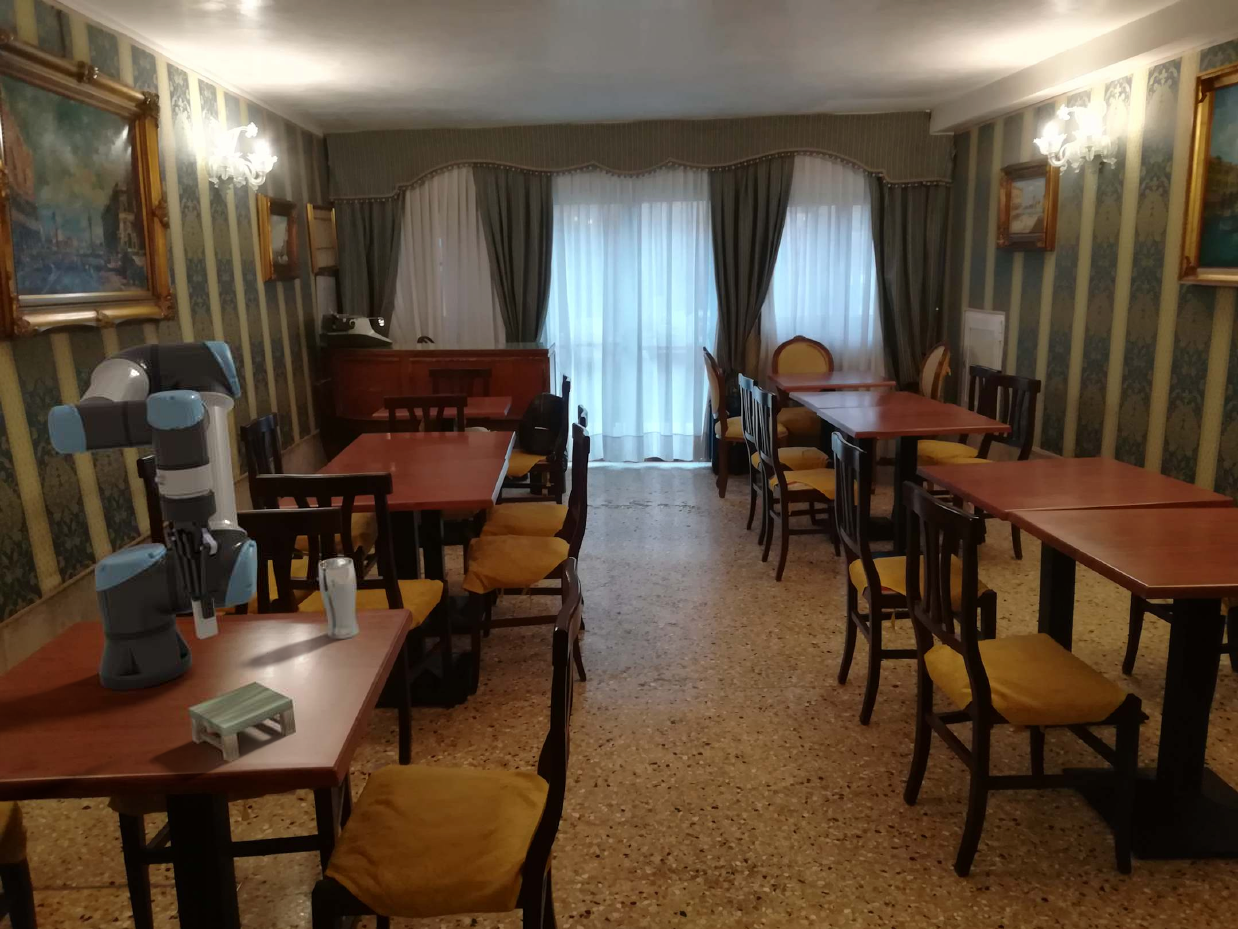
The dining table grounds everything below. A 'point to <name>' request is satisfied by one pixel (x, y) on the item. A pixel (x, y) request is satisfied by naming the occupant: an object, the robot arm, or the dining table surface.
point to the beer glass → (339, 596)
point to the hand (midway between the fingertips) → (207, 635)
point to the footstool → (240, 716)
